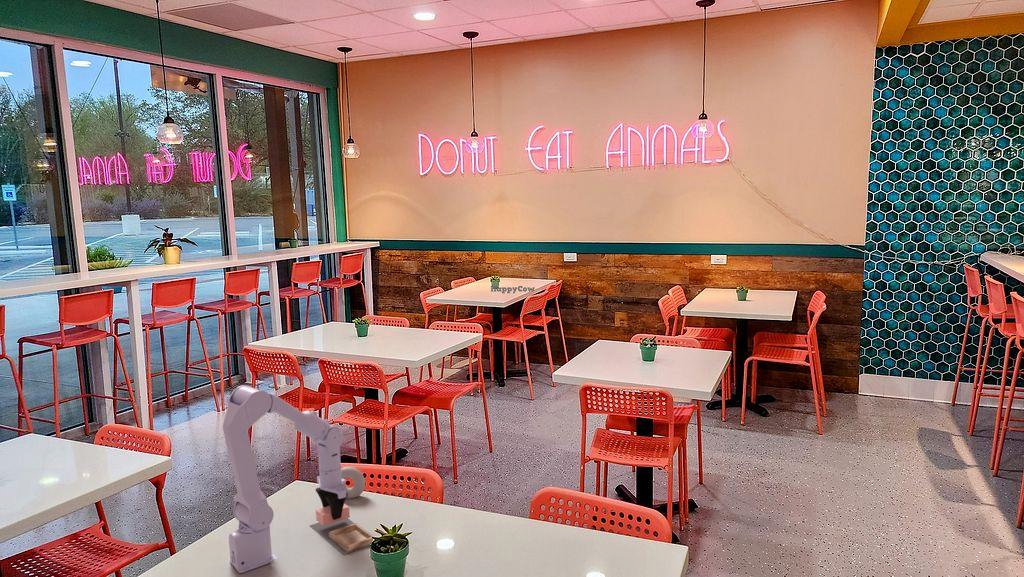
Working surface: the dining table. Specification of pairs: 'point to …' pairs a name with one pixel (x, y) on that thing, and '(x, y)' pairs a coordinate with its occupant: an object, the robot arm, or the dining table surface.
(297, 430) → the robot arm
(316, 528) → the mat
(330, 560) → the dining table surface
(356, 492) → the donut
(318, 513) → the card deck
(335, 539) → the tray
